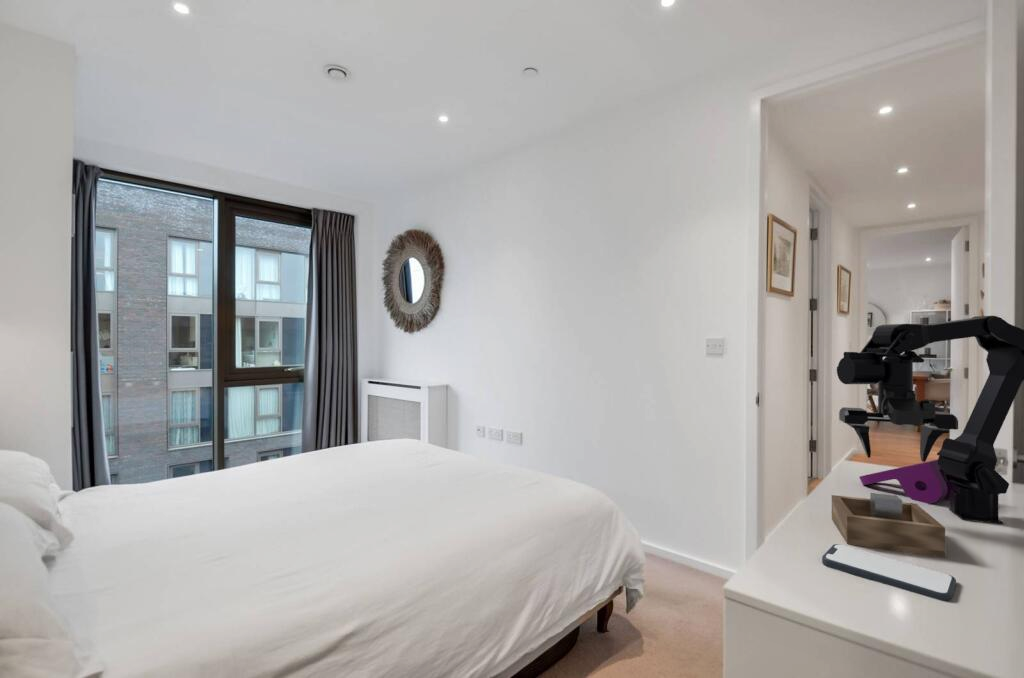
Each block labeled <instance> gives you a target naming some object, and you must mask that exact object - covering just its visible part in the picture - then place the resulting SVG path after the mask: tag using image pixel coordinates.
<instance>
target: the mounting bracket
mask: <svg viewBox="0 0 1024 678" xmlns="http://www.w3.org/2000/svg"><path fill="white" fill-rule="evenodd" d="M858 478H859V479H860V482H861V484H862V486H865V485H871V484H877V483H881V482H885V481H891V480H896V481H898V483H899V485H900V487H901V488H902V490H903V492H904V494H905V495H906V496H907V497H908V498H910V500H912V501H914V502H919V503H923V504H928V505H929V504H935V503H936V502H940V501H942V500H946V499H950V491H953V483H952V482H947V481H946V479H945V477H944V474H943V472H942V470H941V469H940V466H939V465H938V459H934V460H930V461H925V462H920V463H915V464H911V465H906V466H902V467H897V468H892V469H887V470H883V471H877V472H873V473H869V474H864V475H861V476H858Z"/></svg>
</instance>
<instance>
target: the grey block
mask: <svg viewBox="0 0 1024 678" xmlns="http://www.w3.org/2000/svg"><path fill="white" fill-rule="evenodd" d="M869 494H870V495H869V496H870V498H869V499H870V514H871V517H874V518H883V519H892V520H900V521H902V502H903V500H902V498H900V497H899V496H898V495H896V494H885V493H876V492H870V493H869Z"/></svg>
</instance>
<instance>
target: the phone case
mask: <svg viewBox="0 0 1024 678" xmlns="http://www.w3.org/2000/svg"><path fill="white" fill-rule="evenodd" d="M821 559H822V560H821V563H822V565H823V566H825V567H827V568H830V569H834V570H837V571H840V572H844V573H846V574H850V575H853V576H856V577H860V578H863V579H866V580H867V579H868V580H870V581H873V582H876V583H880V584H883V585H887V586H891V587H895V588H897V589H900V590H904V591H908V592H911V593H914V594H918V595H922V596H925V597H928V598H932V599H936V600H939V601H941V602H942V601H943V602H950V601H952V599H953V595H954V592H955V589H956V586H957V580H956V578H955V577H954V576H952V575H950V574H948V573H945V572H942V571H938V570H934V569H931V568H928V567H923V566H920V565H916V564H913V563H909V562H905V561H903V560H902V561H901V560H898V559H894V558H891V557H887V556H884V555H880V554H876V553H874V552H873V553H872V552H868V551H865V550H862V549H858V548H855V547H852V546H848V545H844V544H839V543H835V544H832V546H831V547H830V548H828V550H827V551H826V552H824V554H823V555H822V557H821Z"/></svg>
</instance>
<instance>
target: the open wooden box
mask: <svg viewBox="0 0 1024 678" xmlns="http://www.w3.org/2000/svg"><path fill="white" fill-rule="evenodd" d="M831 521H832V522H833V524H834V525H835V526H836V528H837V530H838V532H839V533H840V535H841V536H842V539H844V541H845V543H846V544H847V545H853V546H860V547H866V548H867V547H868V548H874V549H883V550H888V551H896V552H897V551H898V552H903V553H904V552H905V553H911V554H917V555H925V556H932V557H941V558H946V527H945V526H944V525H942V524H941V523H940V522H939V521H938V520H936V519H935V518H934V517H933V516H931V514H929V512H927V511H926V510H925V509H923V508H922V507H921V506H920V505H919V504H917V503H914V502H912V503H911V502H903V501H902V521H900V520H892V519H883V518H874V517H871V514H870V498H864V497H855V496H854V497H853V496H845V495H834V494H831Z"/></svg>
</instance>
